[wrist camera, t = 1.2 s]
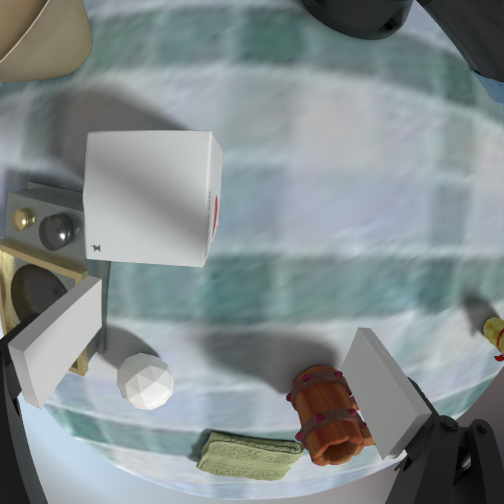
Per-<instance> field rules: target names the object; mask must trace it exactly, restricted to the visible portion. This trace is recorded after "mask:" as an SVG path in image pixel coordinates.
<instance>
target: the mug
mask: <svg viewBox="0 0 504 504" xmlns="http://www.w3.org/2000/svg"><path fill="white" fill-rule="evenodd" d="M351 395H352V392H351V390H350V388H349V386H348V383H347V381H346V379H345V378H344V377H343V374H342V372H341V371H338V370H336V369H335V368H333V367H327V366H315V367H311V368H309V369H307V370H306V371H304V372H303V373H301V374H300V375H299V376H298V377H297V378H296V379H295V380H294V382H293V384H292V391H291V393H289V394H288V395H287V396H286V400H287V401H290V402H291V403H292V406H293V408H294V409H295V410H296V411H297V412H298V415H299V419H300V423H301V427H302V428H301V430H300V431H299V432H298V433H297V434H296V436H295V438H296V439H297V440H298V441H301V444H302V446H303V447H304V448H305V449H307V450H308V451H309V454H310V457H311V460H312V462H313V463H314V464H316V465H319V466H325V465H327V464H331V465H339V464H342V463H345V462H347V461H349V460H350V459H351V457H352V456H356V455H358V454H359V453H360V452H361V451H362V449H363V447H365V446H371V445H375V442H374V440H373V438H372V436H371V433H370V431H369V429H368V427H366V426H367V425H366V423H365V422H363V421H362V419H361V417H360V416H359V414H358V413H357V412H356V411H357V410H359V407H358V405H357V403H356V401H355V398H354V396H353V395H352V396H351ZM350 396H351V397H350Z"/></svg>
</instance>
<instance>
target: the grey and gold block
mask: <svg viewBox="0 0 504 504" xmlns="http://www.w3.org/2000/svg"><path fill="white" fill-rule="evenodd" d="M110 265H111V261H108V260H96V259H87V258H86V253H85V236H84V206H83V192H78V191H74V190H69V189H65V188H61V187H56V186H51V185H47V184H42V183H38V182H33V181H30V182H28V184H27V189H25V190H19V191H13V192H8V193H7V204H6V219H5V240H3V239H2V240H0V315H1V322H2V328H3V333H4V336H5V335H6V334H7V333H8V332H9V331H11V330H12V329H13V328H15V326H16V325H18V324H19V323H21V321H22V320H23V319H25V318H26V317H27V316H29V315H32V314H34V313H37V312H38V313H40V314H42V313H43V312H44V311H45V310H47V309H48V308H49V307H50V306H51V305H53V304H54V303H55V302H56V301H57V300H59V299H60V298H61V297H62V296H63V295H65V294H66V293H67V292H68V291H70V290H71V289H72V288H73V287H75V286H76V285H77V284H78V283H80V282H81V281H82V280H83V279H85V278H86V277H87V276H93V277H97V278H100V279H102V287H101V316H102V327H101V328H100V329H99V330H98V332H97V333H96V334H95V336H94V337H93V338H92V339H91V341H90V342H89V343H88V345H87V346H86V347H85V348H84V350H83V351H82V352H81V354H80V355H79V356H78V358H77V359H76V360H75V362H74V363H73V364H72V366H71V367H70V368H69V370H70V371H72V372H74V373H77V374H79V375H82V376H84V375H85V374H86V372H87V371H88V362H89V361H90V359H91V358H92V356H93V355H94V353H95V352H99V353H102V354H104V352H105V351H106V318H107V300H108V287H109V275H110Z"/></svg>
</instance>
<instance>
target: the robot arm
mask: <svg viewBox="0 0 504 504" xmlns="http://www.w3.org/2000/svg"><path fill="white" fill-rule="evenodd" d="M301 1H302V2H303V4H304V5H305V6H306V8H307V9H308V10H309V11H310V12H311V13H312V14H313V15H314V16H315V17H316V18H318V19H319V20H320V21H321V22H323V23H324V24H326V25H327V26H329V27H331V28H333V29H334V30H336V31H339V32H341V33H343V34H346V35H348V36H352V37H355V38H360V39H366V40H378V39H383V38H386V37H389V36H390V35H392V34H393V33H395V32H396V31H397V30H399V29H400V28H401V27H402V26H403V24H404V23H405V21H406V19H407V16H408V14H409V11H410V8H411V6H412V3H413V0H301ZM416 1H417V2H418V3H419V4H420V5H421V6H422V7H423V8H424V9H425V10H426V12H427V13H428V14H429V15H430V16H431V17H432V18H433V19H434V20H435V22H436V23H437V24H438V25H439V26H440V27H441V29H442V30H443V31H444V32H445V33H446V35H447V36H448V37H449V38H450V40H451V41H452V42H453V44H454V45H455V46H456V48H457V49H458V50H459V52H460V53H461V55H462V56H463V58H464V59H465V60H466V62H467V63H468V66H469V68H470V70H471V72H472V73H473V74H474V75H476V76H477V78H478V79H479V81H480V82H481V83H482V85H483V86H484V88H485V90H486V91H487V93H488V94H489V96H490V97H491V98H492V99H493V100H494V101H495V102H497V103H498V104H500V105H502V106H504V0H416ZM101 287H102V279H100V278H97V277H93V276H87V277H86V278H85V279H83V280H82V281H81V282H80V283H78V284H77V285H76V286H75V287H73V288H72V289H71V290H70V291H68V292H67V293H66V294H65V295H63V296H62V297H61V298H60V299H59V300H57V301H56V302H55V303H54V304H53V305H51V306H50V307H49V308H48V309H47V310H45V311H44V312H43V313H42V314H40V313H38V312H37V313H34V314H32V315H29V316H27V317H26V318H25V319H23V320H22V321H21V323H19V324H18V325H16V326H15V328H13V329H12V330H11V331H9V332H8V333H7V334H6V335H5V336H4V337H3V338H1V339H0V504H48V502H47V500H46V497H45V494H44V492H43V489H42V486H41V484H40V481H39V478H38V475H37V472H36V469H35V466H34V463H33V460H32V457H31V453H30V449H29V445H28V442H27V438H26V434H25V429H24V425H23V420H22V415H21V410H20V405H19V401H18V398H17V396H18V395H19V394H20V392H21V391H22V393H23V396H24V399H25V401H26V402H28V403H29V404H31V405H33V406H35V407H37V408H39V409H41V408H42V407H43V405H44V404H45V402H46V401H47V399H48V398H49V396H50V395H51V394H52V392H53V391H54V389H55V388H56V386H57V385H58V384H59V382H60V381H61V379H62V378H63V377H64V375H65V374H66V373H67V371H68V370H69V368H70V367H71V366H72V364H73V363H74V362H75V360H76V359H77V358H78V356H79V355H80V354H81V352H82V351H83V350H84V348H85V347H86V346H87V345H88V343H89V342H90V341H91V339H92V338H93V337H94V336H95V334H96V333H97V332H98V330H99V329H100V328H101V327H102V316H101ZM341 371H342V373H343V375H344V377H345V379H346V381H347V383H348V386H349V388H350V390H351V392H352V394H353V396H354V398H355V401H356V403H357V405H358V407H359V409H360V411H361V414H362V416H363V418H364V420H365V422H366V425H367V427H368V429H369V431H370V433H371V436H372V438H373V440H374V442H375V445H376V447H377V449H378V451H379V454H380V456H381V458H382V460H388V459H394V458H397V457H398V456H399V455H400V454H401V453H402V451H403V450H404V449H405V451H406V452H407V456H406V457H405V458H404V459H403V460H402V461H401V462H400V463H399V465H398V466H397V467H396V468H395V469H394V471H396V470H397V469H398V468H400V470H399V472H398V475H397V477H396V480H395V482H394V485H393V487H392V490H391V492H390V494H389V496H388V499H387V500H386V503H385V504H504V469H503V465H502V461H501V457H500V453H499V449H498V446H497V442H496V439H495V436H494V433H493V430H492V428H491V426H490V425H489V424H488V422H486V421H485V420H481V419H475V420H473V422H472V423H471V424H470V426H469V427H459V425H458V423H457V422H456V421H455V420H454V419H453V418H451V417H449V416H445V415H441V416H439V414H438V413H437V411H436V410H435V409H434V407H433V406H432V404H431V403H430V402H429V400H428V399H427V398H426V396H425V395H424V393H423V392H421V391H422V390H421V389H420V388H419V386H418V385H417V384H416V383H415V382H414V381H413V380H411V379H410V378H409V377H406V375H405V374H404V372H403V371H402V370H401V368H400V367H399V366H398V364H397V363H396V361H395V360H394V359H393V357H392V356H391V355H390V353H389V352H388V351H387V349H386V348H385V347H384V345H383V344H382V343H381V341H380V340H379V339H378V337H377V336H376V335H375V333H374V332H373V331H372V330H371V329H370V328H361V327H359V328H358V330H357V333H356V335H355V338H354V340H353V342H352V345H351V347H350V349H349V352H348V354H347V356H346V358H345V361H344V363H343V365H342V367H341ZM470 460H471V466H470V467H469V468H468V469H466V465H467V464H468V462H469V461H470Z"/></svg>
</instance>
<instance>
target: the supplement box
mask: <svg viewBox="0 0 504 504" xmlns="http://www.w3.org/2000/svg"><path fill="white" fill-rule="evenodd" d="M223 155H224V152H223V150H222V148H221V147H220V145H219V143H218V142H217V140H216V139H215V137H214V135H213V133H212V132H211V131H183V130H115V131H95V132H88V134H87V142H86V156H85V175H84V188H83V206H84V236H85V253H86V258H87V259H96V260H108V261H122V262H137V263H151V264H166V265H178V266H193V267H204V264H205V261H206V259H207V256H208V253H209V250H210V247H211V244H212V242H213V239H214V236H215V233H216V231H217V228H218V223H219V210H220V196H221V182H222V169H223Z"/></svg>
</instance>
